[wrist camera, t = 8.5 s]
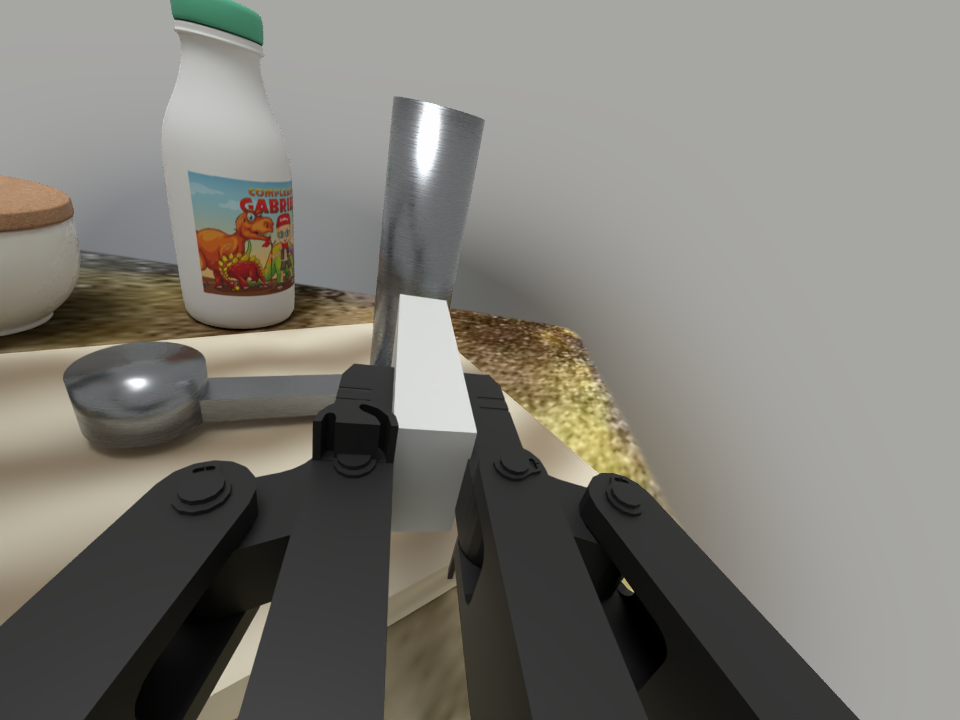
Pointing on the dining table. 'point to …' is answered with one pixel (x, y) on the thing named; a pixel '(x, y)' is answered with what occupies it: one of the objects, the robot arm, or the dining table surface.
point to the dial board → (134, 471)
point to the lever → (198, 399)
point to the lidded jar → (35, 253)
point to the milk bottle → (227, 172)
